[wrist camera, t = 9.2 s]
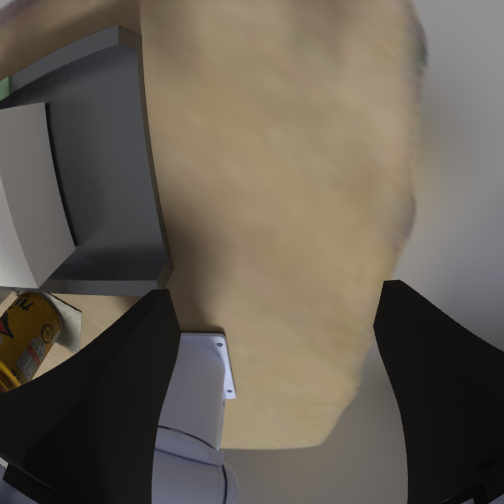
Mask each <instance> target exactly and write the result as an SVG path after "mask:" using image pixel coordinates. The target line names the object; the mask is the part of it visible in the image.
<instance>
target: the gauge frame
mask: <svg viewBox="0 0 504 504" xmlns="http://www.w3.org/2000/svg"><path fill="white" fill-rule="evenodd" d="M42 102H44V103H45V113H46V122H47V130H48V137H49V143H50V149H51V155H52V161H53V166H54V171H55V176H56V180H57V185H58V189H59V193H60V197H61V201H62V205H63V209H64V213H65V216H66V220H67V223H68V227H69V230H70V233H71V237H72V240H73V243H74V246H75V249H76V250H75V251H74V252H73V253H72V254H71V255H70V256H69V257H68V258H67V259H66V260H65V261H64V262H63V263H62V264H61V265H60V266H59V267H58V268H57V269H56V270H55V271H54V272H53V273H52V274H51V275H50V276H49V277H48V278H47V279H46V281H45V282H44V283H43V284H42V285H41V286H40V287H39V288H22V287H7V286H0V305H1V303H2V302H3V301H4V300H5V299H6V298H7V297H8V296H9V295H10V294H11V293H12V291H26V292H41V293H58V294H79V295H106V296H145V295H146V294H147V293H148V292H150V291H151V290H152V289H164V288H165V286H166V284H167V282H168V280H169V278H170V276H171V273H172V271H173V265H172V260H171V256H170V251H169V246H168V242H167V237H166V232H165V227H164V222H163V217H162V211H161V206H160V200H159V195H158V189H157V183H156V177H155V170H154V164H153V157H152V150H151V142H150V135H149V126H148V118H147V108H146V98H145V87H144V75H143V60H142V39H141V35H139V34H137V33H135V32H133V31H131V30H128V29H126V28H124V27H122V26H120V25H116V26H113V27H110V28H107V29H104V30H102V31H99V32H97V33H94V34H92V35H89V36H87V37H84V38H82V39H80V40H78V41H75V42H73V43H71V44H69V45H67V46H65V47H62V48H60V49H58V50H56V51H54V52H52V53H51V54H49V55H47V56H45V57H43V58H41V59H39V60H38V61H36V62H34V63H32V64H31V65H29V66H27V67H26V68H24V69H22V70H21V71H19V72H17V73H16V74H14V75H13V76H11V77H10V76H7V77H6V78H4V79H3V80H2V81H0V110H1V109H6V108H11V107H17V106H22V105H29V104H35V103H42Z"/></svg>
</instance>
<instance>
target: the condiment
mask: <svg viewBox="0 0 504 504" xmlns="http://www.w3.org/2000/svg"><path fill="white" fill-rule="evenodd" d="M19 295H20V296H19V297H18V298H17V299H16V300H15V301H14V302H13V304H12V305H10V307H9V308H8V309H7V310H6V311H5V312H4V313H3V315H2V316H1V317H0V394H1V393H4V392H7V391H9V390H12V389H14V388H17V387H19V386H21V385H23V384H25V383H28V382H30V381H31V380H32V378H33V377H34V375H35V373H36V372H37V370H38V368H39V367H40V365H41V363H42V362H43V360H44V359H45V357H46V355H47V354H48V352H49V351H50V349H51V347H52V346H53V344H54V343H55V342H56V343H58V344H60V345H61V346H64V347H65V348H67V349H68V350H70V351H71V352H72V353H75V354H76V353H77V352H79V351H80V335H81V315H82V313H80V312H79V311H77V310H74V309H73V308H71V307H70V306H68V305H65V304H64V303H62V302H61V301H59V300H57V299H55V298H54V297H52V296H51V295H49V294H48V293H41V292H26V291H19ZM61 313H62V314H63V315H62V314H61ZM64 316H65V317H66V319H65V317H64Z"/></svg>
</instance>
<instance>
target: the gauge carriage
mask: <svg viewBox="0 0 504 504" xmlns="http://www.w3.org/2000/svg"><path fill="white" fill-rule="evenodd" d="M75 250H76V249H75V246H74V243H73V240H72V237H71V233H70V230H69V227H68V223H67V220H66V216H65V213H64V209H63V205H62V201H61V197H60V193H59V189H58V185H57V180H56V176H55V171H54V166H53V161H52V155H51V149H50V143H49V137H48V130H47V122H46V113H45V103H44V102H42V103H35V104H29V105H22V106H17V107H11V108H6V109H1V110H0V286H7V287H22V288H39V287H40V286H41V285H42V284H43V283H44V282H45V281H46V279H47V278H48V277H49V276H50V275H51V274H52V273H53V272H54V271H55V270H56V269H57V268H58V267H59V266H60V265H61V264H62V263H63V262H64V261H65V260H66V259H67V258H68V257H69V256H70V255H71V254H72V253H73V252H74V251H75Z"/></svg>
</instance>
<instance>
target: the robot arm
mask: <svg viewBox="0 0 504 504" xmlns="http://www.w3.org/2000/svg"><path fill="white" fill-rule="evenodd" d="M373 328H374V332H375V336H376V341H377V344H378V349H379V352H380V355H381V358H382V360H383V363H384V366H385V369H386V371H387V374H388V377H389V380H390V382H391V385H392V388H393V391H394V394H395V397H396V399H397V403H398V406H399V410H400V414H401V419H402V425H403V431H404V437H405V445H406V454H407V468H408V501H407V504H504V352H503V351H501V350H499V349H497V348H496V347H494V346H492V345H491V344H489V343H487V342H486V341H484V340H482V339H481V338H479V337H478V336H476V335H474V334H473V333H471V332H470V331H468V330H467V329H466V328H464V327H463V326H461V325H460V324H459V323H457V322H456V321H454V320H453V319H452V318H450V317H449V316H448V315H446V314H445V313H444V312H442V311H441V310H440V309H439V308H437V307H436V306H435V305H433V304H432V303H431V302H429V301H428V300H427V299H426V298H424V297H423V296H422V295H420V294H419V293H418V292H416V291H415V290H414V289H412V288H411V287H410V286H408V285H407V284H405V283H404V282H402V281H401V280H389V281H384V283H383V287H382V292H381V296H380V301H379V305H378V309H377V313H376V317H375V321H374V324H373ZM220 343H221V344H220ZM235 397H236V391H235V386H234V381H233V376H232V371H231V365H230V360H229V355H228V349H227V344H226V338H225V336H224V335H223V334H220V333H181V331H180V327H179V324H178V321H177V317H176V314H175V310H174V307H173V303H172V299H171V296H170V292H169V289H152V290H151V291H150V292H148V293H147V294H146V295H145V296H144V297H142V298H141V299H140V300H139V301H138V302H137V303H136V304H134V305H133V306H132V307H131V308H130V309H129V310H128V311H127V312H126V313H124V314H123V315H122V316H121V317H120V318H119V319H118V320H117V321H116V322H114V323H113V324H112V325H111V326H110V327H109V328H107V329H106V330H105V331H104V332H103V333H101V334H100V335H99V336H98V337H97V338H95V339H94V340H93V341H92V342H91V343H89V344H88V345H87V346H85V347H84V348H83V349H81V350H80V351H79V352H77V353H76V354H75V355H73V356H72V357H70V358H69V359H67V360H66V361H64V362H63V363H61V364H60V365H58V366H56V367H55V368H53V369H51V370H50V371H48V372H46V373H44V374H43V375H41V376H39V377H37V378H35V379H34V380H32V381H30V382H28V383H25V384H23V385H21V386H19V387H17V388H14V389H12V390H9V391H7V392H4V393H1V394H0V457H1V458H2V459H4V460H5V461H6V462H8V463H9V464H8V466H7V469H6V468H5V467H3V466H2V465H1V464H0V504H238V498H239V497H238V496H239V486H238V481H237V478H236V476H235V474H234V472H233V470H232V468H231V467H230V466H229V465H228V464H225V463H223V454H224V452H222V451H218V450H219V448H220V445H221V438H222V429H223V420H224V411H225V402H226V399H234V398H235Z"/></svg>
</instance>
